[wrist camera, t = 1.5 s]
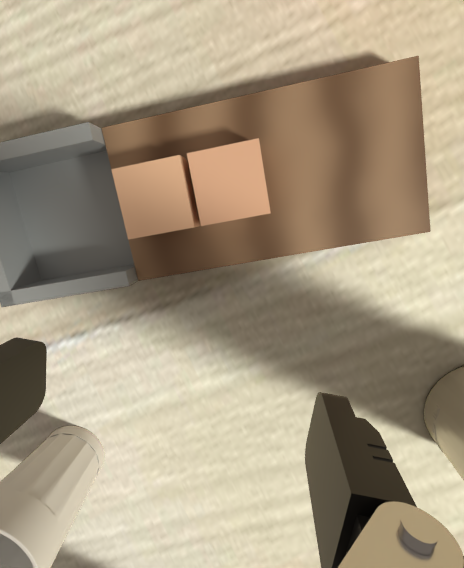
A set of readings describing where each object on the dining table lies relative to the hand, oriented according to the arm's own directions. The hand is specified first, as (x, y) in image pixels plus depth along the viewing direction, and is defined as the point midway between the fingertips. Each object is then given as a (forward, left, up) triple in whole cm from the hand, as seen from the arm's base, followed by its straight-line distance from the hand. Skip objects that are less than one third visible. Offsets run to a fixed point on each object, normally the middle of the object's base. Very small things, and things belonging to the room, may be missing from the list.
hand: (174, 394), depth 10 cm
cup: (+20, +16, -21) cm, 33 cm away
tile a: (-1, -7, -18) cm, 20 cm away
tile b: (+4, -7, -18) cm, 20 cm away
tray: (+13, -7, -21) cm, 26 cm away
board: (-4, -7, -21) cm, 22 cm away
